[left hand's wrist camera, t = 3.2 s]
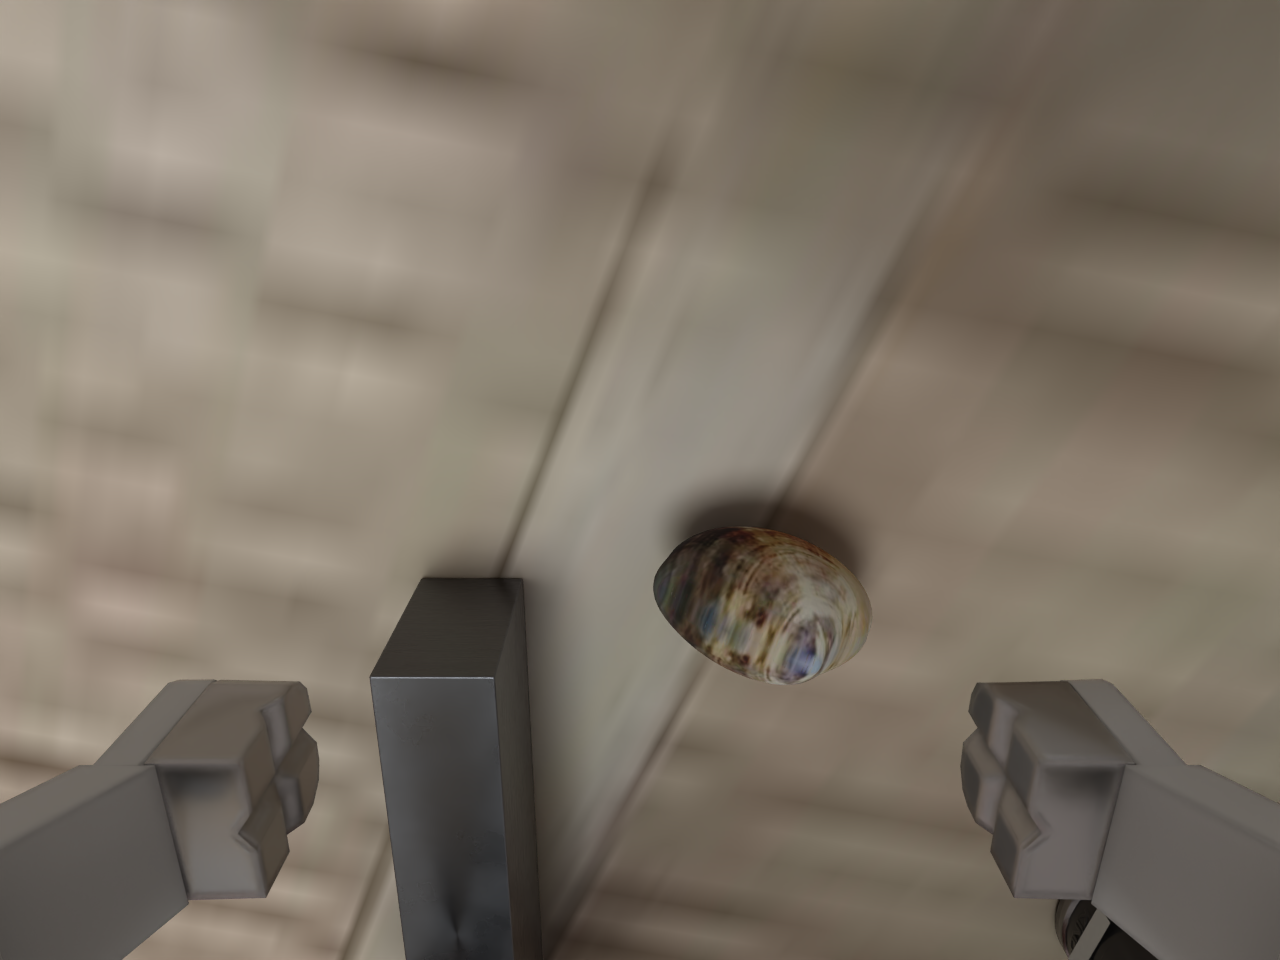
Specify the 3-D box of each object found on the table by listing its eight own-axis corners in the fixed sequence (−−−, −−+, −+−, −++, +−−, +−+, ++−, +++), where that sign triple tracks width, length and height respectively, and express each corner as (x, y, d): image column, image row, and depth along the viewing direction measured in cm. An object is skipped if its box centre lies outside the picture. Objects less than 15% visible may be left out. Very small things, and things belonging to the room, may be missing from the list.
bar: (421, 577, 39) (368, 676, 32) (522, 578, 39) (494, 676, 32) (461, 984, 48) (428, 1135, 41) (544, 984, 48) (526, 1135, 41)
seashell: (873, 533, 38) (931, 624, 31) (828, 639, 40) (872, 749, 32) (671, 477, 37) (679, 557, 30) (635, 589, 39) (634, 690, 32)
